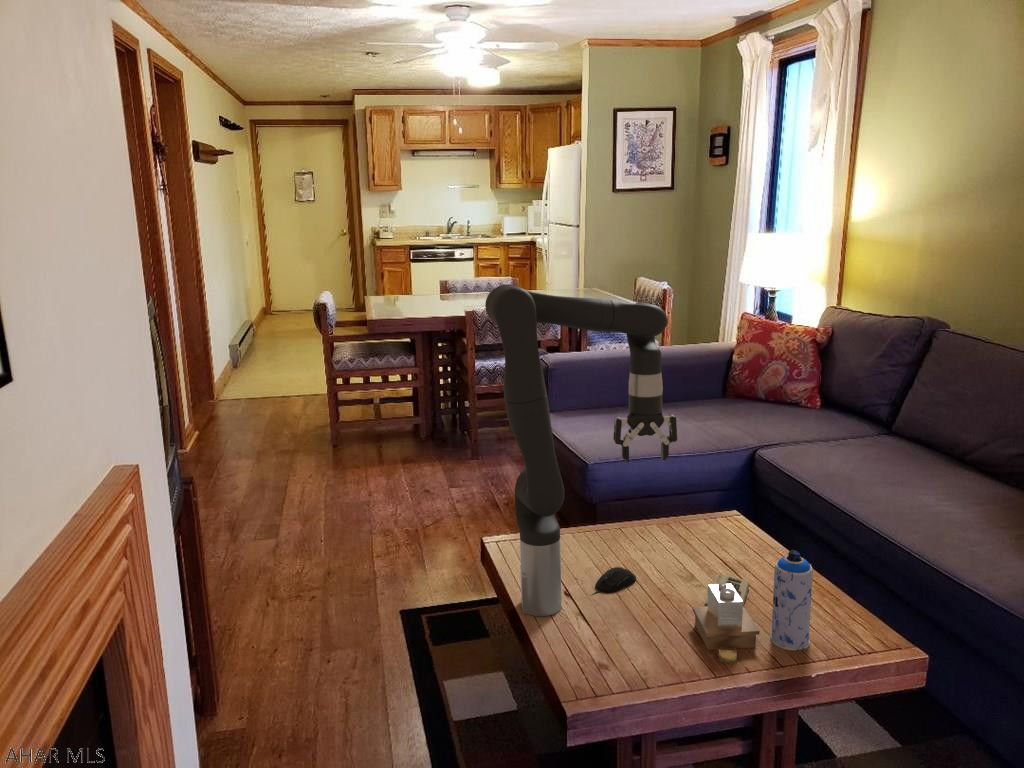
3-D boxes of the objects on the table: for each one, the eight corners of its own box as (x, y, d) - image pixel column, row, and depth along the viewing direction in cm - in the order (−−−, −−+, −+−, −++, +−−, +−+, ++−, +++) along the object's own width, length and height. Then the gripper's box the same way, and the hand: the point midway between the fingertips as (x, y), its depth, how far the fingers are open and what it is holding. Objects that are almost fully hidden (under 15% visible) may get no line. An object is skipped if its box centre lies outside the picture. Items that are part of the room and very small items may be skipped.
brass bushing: (721, 664, 156) (722, 655, 156) (715, 654, 159) (716, 646, 159) (739, 663, 156) (739, 654, 156) (733, 653, 160) (733, 644, 159)
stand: (706, 651, 161) (706, 633, 160) (692, 623, 171) (692, 607, 170) (758, 648, 161) (759, 630, 160) (741, 621, 172) (742, 604, 171)
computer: (739, 621, 173) (740, 607, 172) (703, 614, 176) (703, 601, 175) (749, 589, 187) (750, 576, 186) (715, 584, 190) (715, 571, 189)
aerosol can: (768, 628, 168) (772, 543, 164) (806, 632, 167) (811, 545, 162) (772, 648, 161) (776, 559, 156) (812, 652, 159) (817, 561, 155)
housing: (707, 609, 169) (708, 580, 168) (730, 608, 169) (731, 579, 168) (718, 629, 161) (719, 598, 160) (742, 628, 161) (743, 597, 160)
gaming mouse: (581, 592, 188) (581, 577, 187) (622, 572, 197) (622, 558, 196) (600, 601, 183) (600, 586, 182) (641, 581, 192) (641, 566, 192)
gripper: (672, 386, 179) (671, 453, 183) (611, 389, 179) (611, 456, 182) (680, 394, 172) (679, 464, 176) (617, 396, 172) (617, 466, 175)
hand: (644, 460), depth 179 cm, fingers open, 8 cm apart
